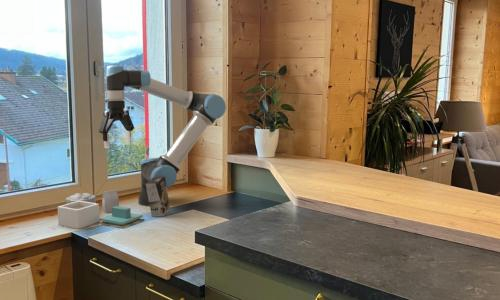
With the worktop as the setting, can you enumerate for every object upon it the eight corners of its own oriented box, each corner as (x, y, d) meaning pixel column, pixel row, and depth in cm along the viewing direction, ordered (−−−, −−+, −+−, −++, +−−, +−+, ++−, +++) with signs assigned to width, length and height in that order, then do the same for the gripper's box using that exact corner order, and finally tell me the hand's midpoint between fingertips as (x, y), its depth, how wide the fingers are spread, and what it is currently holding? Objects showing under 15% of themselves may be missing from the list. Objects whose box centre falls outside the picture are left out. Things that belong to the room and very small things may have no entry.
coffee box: (164, 216, 216) (158, 182, 211) (151, 216, 217) (144, 183, 213) (171, 208, 224) (165, 176, 220) (158, 208, 226) (152, 176, 221)
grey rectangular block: (119, 210, 227) (118, 190, 226) (105, 213, 223) (104, 192, 221) (115, 209, 230) (115, 189, 228) (102, 211, 226) (101, 191, 224)
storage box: (80, 217, 215) (79, 200, 214) (99, 221, 209) (98, 203, 208) (58, 224, 204) (57, 206, 203) (78, 228, 199) (77, 210, 198)
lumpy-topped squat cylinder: (64, 212, 224) (63, 194, 223) (90, 207, 233) (89, 190, 232) (74, 216, 217) (73, 198, 216) (100, 211, 226) (99, 193, 225)
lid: (120, 215, 217) (120, 202, 217) (142, 219, 212) (142, 206, 211) (99, 222, 206) (99, 209, 205) (122, 227, 200) (122, 213, 199)
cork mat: (120, 215, 218) (120, 215, 218) (144, 220, 212) (144, 219, 212) (97, 223, 206) (97, 222, 206) (122, 228, 199) (122, 227, 199)
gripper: (128, 99, 227) (130, 142, 230) (89, 100, 205) (91, 149, 208) (140, 99, 224) (142, 143, 227) (101, 101, 202) (103, 150, 205)
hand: (117, 146), depth 218 cm, fingers open, 13 cm apart
